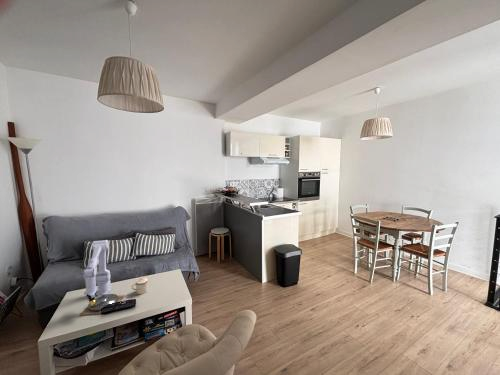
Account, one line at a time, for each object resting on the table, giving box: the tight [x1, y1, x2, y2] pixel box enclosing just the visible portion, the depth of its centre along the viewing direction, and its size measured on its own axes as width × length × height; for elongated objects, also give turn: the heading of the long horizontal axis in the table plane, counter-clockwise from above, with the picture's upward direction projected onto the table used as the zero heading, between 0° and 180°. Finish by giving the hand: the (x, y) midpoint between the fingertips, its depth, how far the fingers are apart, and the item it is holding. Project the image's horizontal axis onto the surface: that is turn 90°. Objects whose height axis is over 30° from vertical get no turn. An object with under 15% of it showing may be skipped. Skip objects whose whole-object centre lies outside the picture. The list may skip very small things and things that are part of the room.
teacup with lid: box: [131, 277, 149, 295], centre depth 169 cm, size 12×9×12 cm
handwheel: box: [87, 293, 118, 311], centre depth 152 cm, size 18×18×6 cm
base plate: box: [79, 294, 126, 317], centre depth 152 cm, size 20×20×1 cm
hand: (91, 303), depth 147 cm, fingers closed
